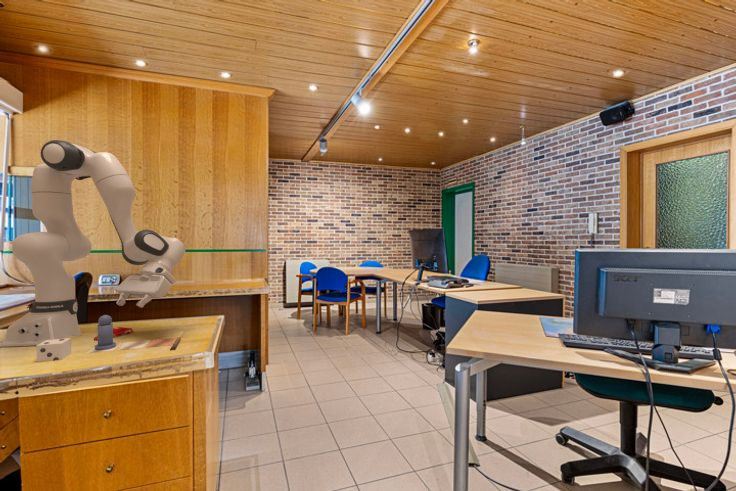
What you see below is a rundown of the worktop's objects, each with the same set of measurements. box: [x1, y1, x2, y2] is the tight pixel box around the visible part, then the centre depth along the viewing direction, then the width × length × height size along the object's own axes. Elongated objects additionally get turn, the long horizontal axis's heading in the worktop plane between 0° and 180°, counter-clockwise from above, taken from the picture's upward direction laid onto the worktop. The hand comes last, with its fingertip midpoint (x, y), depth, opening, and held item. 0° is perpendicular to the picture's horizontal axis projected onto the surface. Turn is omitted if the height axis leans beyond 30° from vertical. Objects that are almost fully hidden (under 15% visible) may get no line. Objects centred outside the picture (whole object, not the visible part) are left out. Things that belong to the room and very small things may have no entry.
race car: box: [93, 326, 134, 342], centre depth 130 cm, size 13×5×4 cm, turn 162°
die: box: [35, 337, 72, 363], centre depth 106 cm, size 6×6×6 cm
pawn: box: [94, 314, 117, 350], centre depth 116 cm, size 6×6×11 cm
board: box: [86, 336, 181, 354], centre depth 118 cm, size 26×12×1 cm, turn 110°
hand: (128, 305), depth 123 cm, fingers open, 8 cm apart
